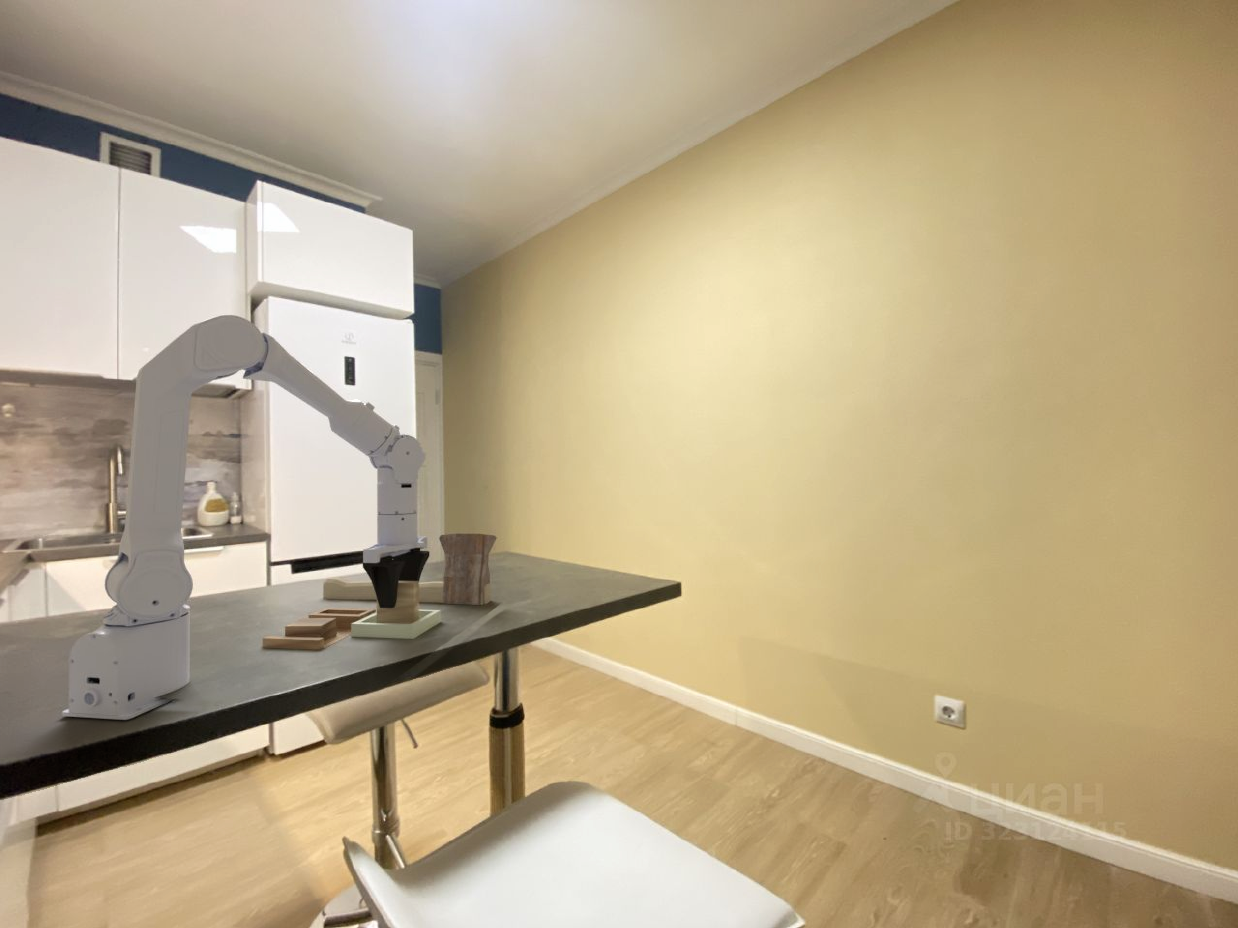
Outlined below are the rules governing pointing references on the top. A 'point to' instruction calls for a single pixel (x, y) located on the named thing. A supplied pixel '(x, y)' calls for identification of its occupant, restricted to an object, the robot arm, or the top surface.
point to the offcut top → (310, 626)
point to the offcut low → (325, 635)
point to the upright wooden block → (402, 605)
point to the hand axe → (460, 581)
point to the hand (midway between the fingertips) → (398, 602)
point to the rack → (343, 630)
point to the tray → (395, 626)
